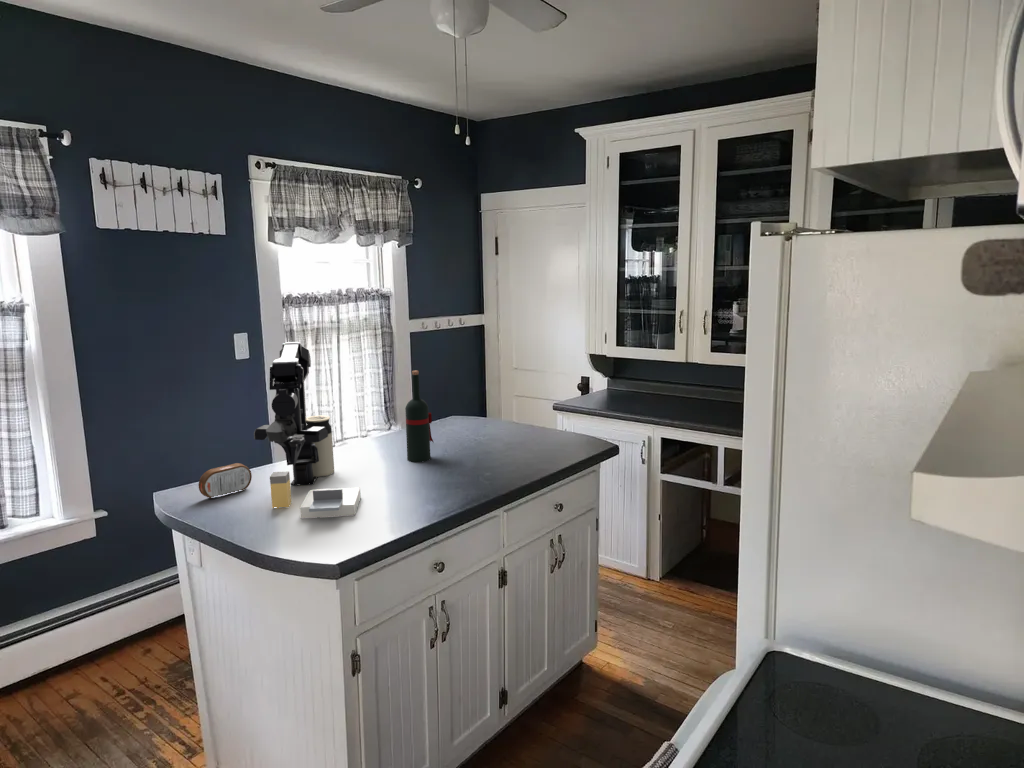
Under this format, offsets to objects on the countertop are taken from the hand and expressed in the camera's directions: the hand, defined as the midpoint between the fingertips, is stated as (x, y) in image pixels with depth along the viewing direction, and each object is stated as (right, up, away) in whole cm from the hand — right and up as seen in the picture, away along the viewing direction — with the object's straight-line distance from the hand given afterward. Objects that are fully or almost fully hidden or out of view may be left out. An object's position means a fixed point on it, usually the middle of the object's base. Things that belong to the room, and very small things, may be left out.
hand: (293, 464), depth 182 cm
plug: (-4, -12, +4) cm, 13 cm away
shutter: (+11, -10, -7) cm, 16 cm away
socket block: (+10, -12, +1) cm, 16 cm away
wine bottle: (+28, -4, +46) cm, 55 cm away
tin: (-23, -11, +14) cm, 29 cm away
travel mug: (-1, -7, +32) cm, 32 cm away
